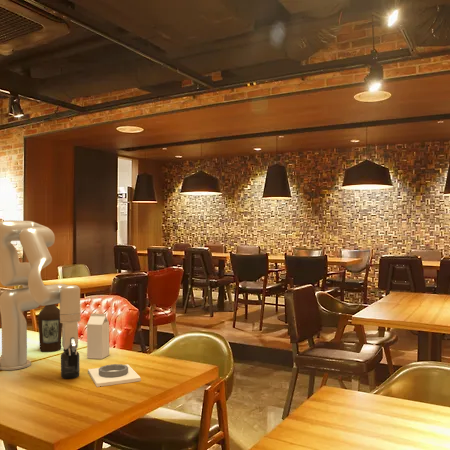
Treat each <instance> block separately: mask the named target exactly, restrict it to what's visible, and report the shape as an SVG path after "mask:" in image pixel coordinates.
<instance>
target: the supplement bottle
mask: <svg viewBox="0 0 450 450" xmlns="http://www.w3.org/2000/svg"><path fill="white" fill-rule="evenodd" d="M77 349H78V348H76V350H77ZM62 350H63V352H62V353H61V355H60V378H61V379H62V380H63V379H65V380H73V379H77V378H78V377H80V374H81V373H80V367H81V366H80V353H79V352H78V350H77V366H68V355H69V350H68V349H66V350H65V349H64V348H63V349H62ZM70 352H71V351H70Z"/></svg>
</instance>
